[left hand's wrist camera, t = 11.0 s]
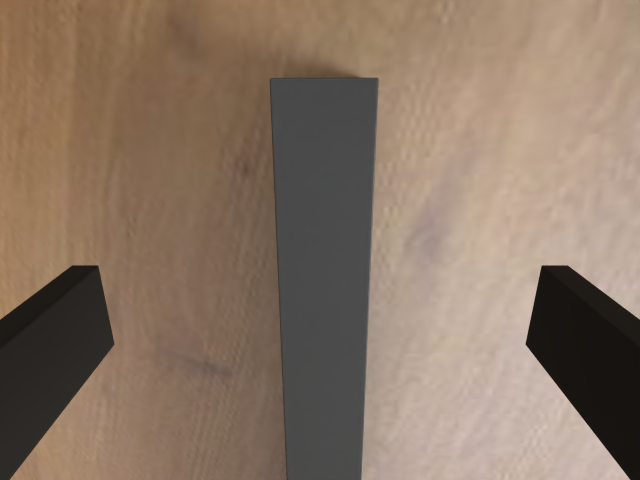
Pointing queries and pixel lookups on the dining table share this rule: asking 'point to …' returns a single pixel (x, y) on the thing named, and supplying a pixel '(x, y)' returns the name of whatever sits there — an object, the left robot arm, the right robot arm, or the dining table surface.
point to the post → (324, 266)
